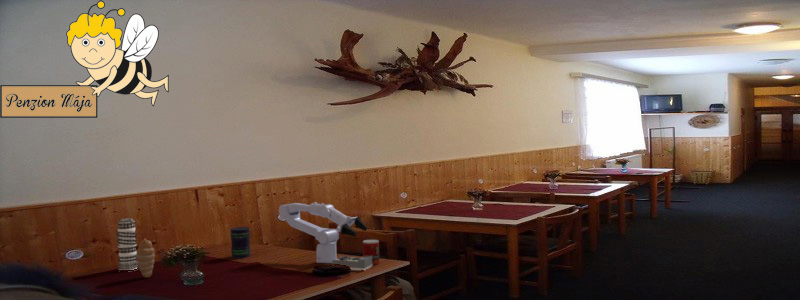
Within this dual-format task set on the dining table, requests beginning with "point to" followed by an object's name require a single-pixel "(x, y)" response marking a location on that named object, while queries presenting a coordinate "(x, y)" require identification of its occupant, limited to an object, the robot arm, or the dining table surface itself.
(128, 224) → the decorative candle
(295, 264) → the dining table surface
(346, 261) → the gauge housing
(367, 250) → the canned food
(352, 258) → the plunger
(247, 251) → the storage jar
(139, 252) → the tan ridged cocoon
